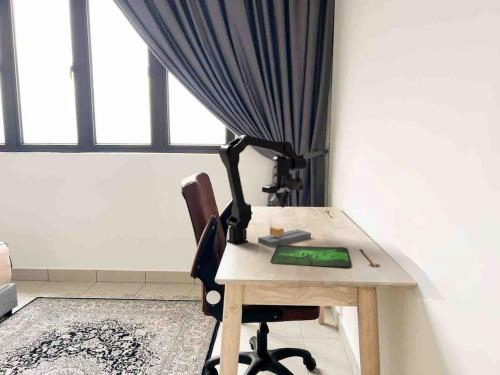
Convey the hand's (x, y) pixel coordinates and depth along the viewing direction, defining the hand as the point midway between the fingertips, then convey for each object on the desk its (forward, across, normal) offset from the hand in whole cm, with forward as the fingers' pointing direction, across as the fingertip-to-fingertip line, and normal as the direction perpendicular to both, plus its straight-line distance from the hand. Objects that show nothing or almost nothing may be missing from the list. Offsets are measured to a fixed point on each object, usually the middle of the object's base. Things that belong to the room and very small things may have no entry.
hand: (282, 207), depth 162 cm
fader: (+10, -9, -7) cm, 15 cm away
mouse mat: (+13, -10, -27) cm, 32 cm away
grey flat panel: (+12, -4, -7) cm, 15 cm away
